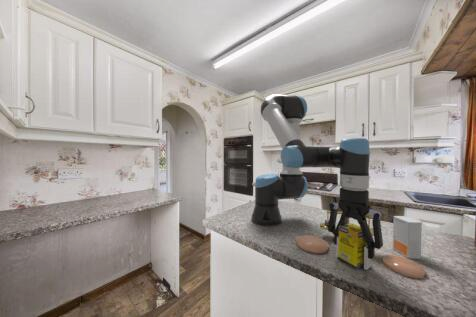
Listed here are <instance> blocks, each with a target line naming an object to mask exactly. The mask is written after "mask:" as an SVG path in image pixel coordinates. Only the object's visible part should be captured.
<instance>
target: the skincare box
mask: <svg viewBox="0 0 476 317" xmlns="http://www.w3.org/2000/svg"><path fill="white" fill-rule="evenodd" d="M392 222H393V223H392V224H393V227H392V228H393V229H392V249H393V250H395V251H396V252H397V253H399V254H401V255H402V256H404V258H407V259H413V260H414V259H418V260H421V258H422V230H423V229H422V228H423V226H422V225H423V223H422V222H421V221H419V220H416V219H413V218H411V217H408V216H405V215H393V221H392Z"/></svg>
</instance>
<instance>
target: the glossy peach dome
mask: <svg viewBox="0 0 476 317" xmlns="http://www.w3.org/2000/svg"><path fill="white" fill-rule="evenodd" d="M382 264H383V265H384V266H385V267H386V268H388V269H389V270H390V271H391V272H393V273H396V274H399V275H401V276H404V277H407V278H412V279H424V278H425V276H426V269H425V268H424V267H423V266H422V265H421V264H420V263H417V262H415V261H414V260H411V259H410V258H407V257H405V256H404V257H403V256H400V255H394V254H386V255H384V256H382Z"/></svg>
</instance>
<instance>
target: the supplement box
mask: <svg viewBox="0 0 476 317" xmlns="http://www.w3.org/2000/svg"><path fill="white" fill-rule="evenodd" d="M366 245H367V243H366V241H365V238H364V235H363V233H362V230H361V227H360V225H357V224H354V223H351V222H349V224H345V225H342V226H341V225H340V226H339V246H338V257H337V258H338V260H339V261H341V262H343V263H344V264H347V265H348V266H350V267H352V268H354V269H355V270H358V269H360V268H362V267H364V247H365V246H366Z"/></svg>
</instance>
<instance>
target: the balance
mask: <svg viewBox="0 0 476 317" xmlns="http://www.w3.org/2000/svg"><path fill="white" fill-rule="evenodd" d="M330 211H331V210H327V211H326V214H327V219H325V220H324V222H322V223H320V224H319V228H321V229H322V230H325V231H328V226H329V218H330ZM337 215H342V211H338V210H337ZM365 217H368V220H367V224H368V227H369V229H370V232H371V235H372V237H374V232H373V227H370V226H371V224H370V223H371V222H370V221H371V215H370V214H369V213H368V214H367V215H366V216H365ZM349 223H350V218H348V219H347V221H346V223H345V224H349ZM336 227H337V225H336V226H335V229H336ZM331 241H332V242H334V237H333V238H331Z"/></svg>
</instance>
